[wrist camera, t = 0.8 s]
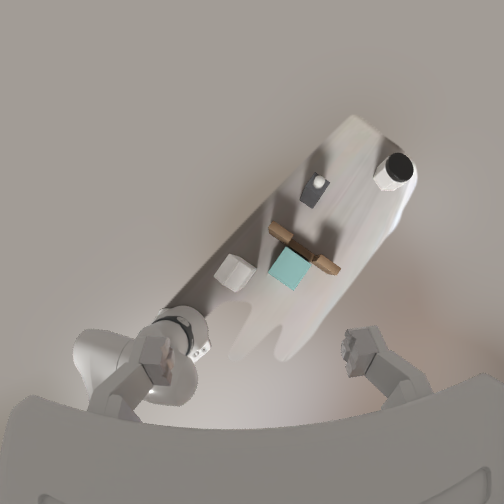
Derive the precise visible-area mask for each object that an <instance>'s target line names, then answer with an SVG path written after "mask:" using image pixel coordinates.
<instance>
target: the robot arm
mask: <svg viewBox="0 0 504 504" xmlns="http://www.w3.org/2000/svg"><path fill="white" fill-rule="evenodd" d="M345 337H346V338H345V339H344V340H343V341H342V345H341V353H342V357H343V359H344V360H345V361H346V362H347V364H346V370H347V373H348V377H349V378H350V377H357V376H363V375H365V377H366V378H367V379H368V380H369V381H370V382H372V384H374V385H375V386H376V387H377V388H378V389H379V390H380V391H381V392H382V393H383V394H384V395H385V396H386V397H387V398H388V399H387V400H386V402H385V403H384V404H383V405H382V407H381V409H382V410H380V411H376V412H372V413H368V414H363V415H359V416H354V417H350V418H345V419H339V420H334V421H328V422H321V423H314V424H307V425H299V426H290V427H278V428H263V429H198V428H183V427H171V426H162V425H154V424H147V423H143V422H142V421H141V420H140V418H139V417H138V416H137V415H136V414H135V413H134V411H133V410H134V409H135V408H136V407H137V405H138V404H139V403H140V402H141V401H142V400H144V401H147V402H150V403H153V404H158V405H167V406H182V405H184V404H185V403H186V402H188V401H189V400H190V399H191V398H192V396H193V395H194V393H195V391H196V388H197V384H198V375H197V370H196V367H195V365H194V363H195V362H196V361H197V360H198V359H199V358H200V357H202V356H203V355H204V354H205V353H206V352H207V351H209V350H210V349H211V343H210V340H209V338H208V326H207V323H206V320H205V319H204V317H203V316H202V314H201V313H200V312H198V311H197V310H196V309H194V308H192V307H189V306H177V307H174V308H171V309H169V308H162V309H161V310H159V313H158V315H157V316H156V320H155V322H153V323H152V324H151V325H149V326H147V327H145V328H143V329H142V330H141V331H140V332H139V334H138V336H137V337H136V339H133V338H129V337H127V336H123V335H120V334H117V333H114V332H111V331H107V330H99V329H86V330H84V331H83V332H82V333H81V334H80V335H79V336H78V337H77V339H76V341H75V343H74V347H73V360H74V363H75V366H76V367H77V369H78V370H79V372H80V374H81V377H82V379H83V381H84V384H85V387H86V391H87V395H88V399H89V406H88V410H87V411H83V410H79V409H76V408H72V407H69V406H66V405H62V404H59V403H56V402H53V401H50V400H47V399H45V398H42V397H39V396H36V395H30V396H28V397H26V398H25V399H24V400H22V401H21V402H20V403H19V404H17V405H16V406H15V407H14V408H13V409H12V411H11V413H10V416H9V419H8V422H7V426H6V430H5V434H4V438H3V442H2V447H1V454H0V504H504V383H502V382H500V381H499V380H497V379H495V378H494V377H492V376H491V375H489V374H486V373H480V374H478V375H476V376H474V377H472V378H470V379H468V380H465V381H463V382H461V383H459V384H456V385H454V386H452V387H449V388H447V389H444V390H442V391H439V392H436V393H433V391H432V388H431V386H430V384H429V382H428V379H427V377H426V375H425V374H424V373H423V372H422V371H420V370H419V369H417V368H416V367H414V366H413V365H412V364H410V363H409V362H408V361H406V360H405V359H403V358H402V357H401V356H399V355H397V354H396V353H395V352H394V351H392V350H389V349H388V347H387V345H386V343H385V341H384V339H383V336H382V335H381V332H380V331H379V328H378V327H377V326H369V327H361V328H354V329H347V331H346V332H345ZM203 348H205V350H204V349H203Z"/></svg>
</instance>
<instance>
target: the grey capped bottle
mask: <svg viewBox="0 0 504 504" xmlns="http://www.w3.org/2000/svg"><path fill="white" fill-rule="evenodd" d="M329 184H330V182H329V181H327V180H326V179H324V177H323V176H320V175H318V174H317V173H314V174H313V176H312V177H311V179H310V180H309V181H308V183H307V184H306V186H305V188H304V191H303V193H302V196H301V198H300V201H302V202H303V203H305V204H306V205H307V206H309V207H310V208H312V209H313V207H314V206H315V204H316V203H317V202H318V200H319V199H320V197H321V196H322V194H323V193H324V191H325V190H326V188H327V187H328V185H329Z"/></svg>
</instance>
